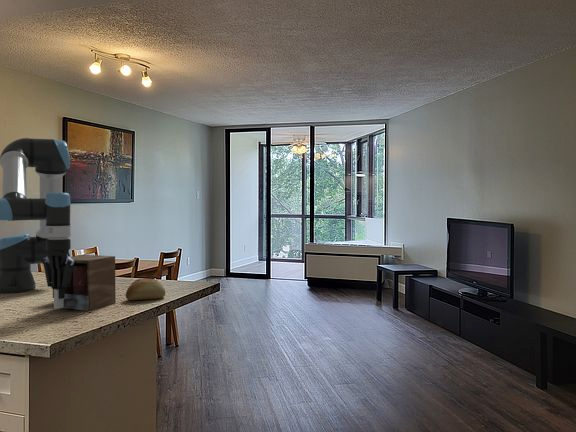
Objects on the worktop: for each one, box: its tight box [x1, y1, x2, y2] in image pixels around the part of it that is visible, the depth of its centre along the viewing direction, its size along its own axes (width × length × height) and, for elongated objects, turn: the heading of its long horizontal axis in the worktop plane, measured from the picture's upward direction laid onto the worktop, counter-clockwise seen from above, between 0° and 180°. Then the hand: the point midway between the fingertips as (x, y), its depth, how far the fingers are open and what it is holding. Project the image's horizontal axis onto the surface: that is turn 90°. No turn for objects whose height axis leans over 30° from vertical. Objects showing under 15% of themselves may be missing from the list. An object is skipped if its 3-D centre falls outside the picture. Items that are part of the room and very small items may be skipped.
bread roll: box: [125, 277, 166, 301], centre depth 183 cm, size 10×15×8 cm, turn 120°
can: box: [73, 264, 88, 296], centre depth 171 cm, size 6×6×14 cm
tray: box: [62, 294, 89, 312], centre depth 169 cm, size 14×17×5 cm
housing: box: [65, 254, 117, 312], centre depth 172 cm, size 14×13×18 cm
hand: (58, 307), depth 160 cm, fingers closed
